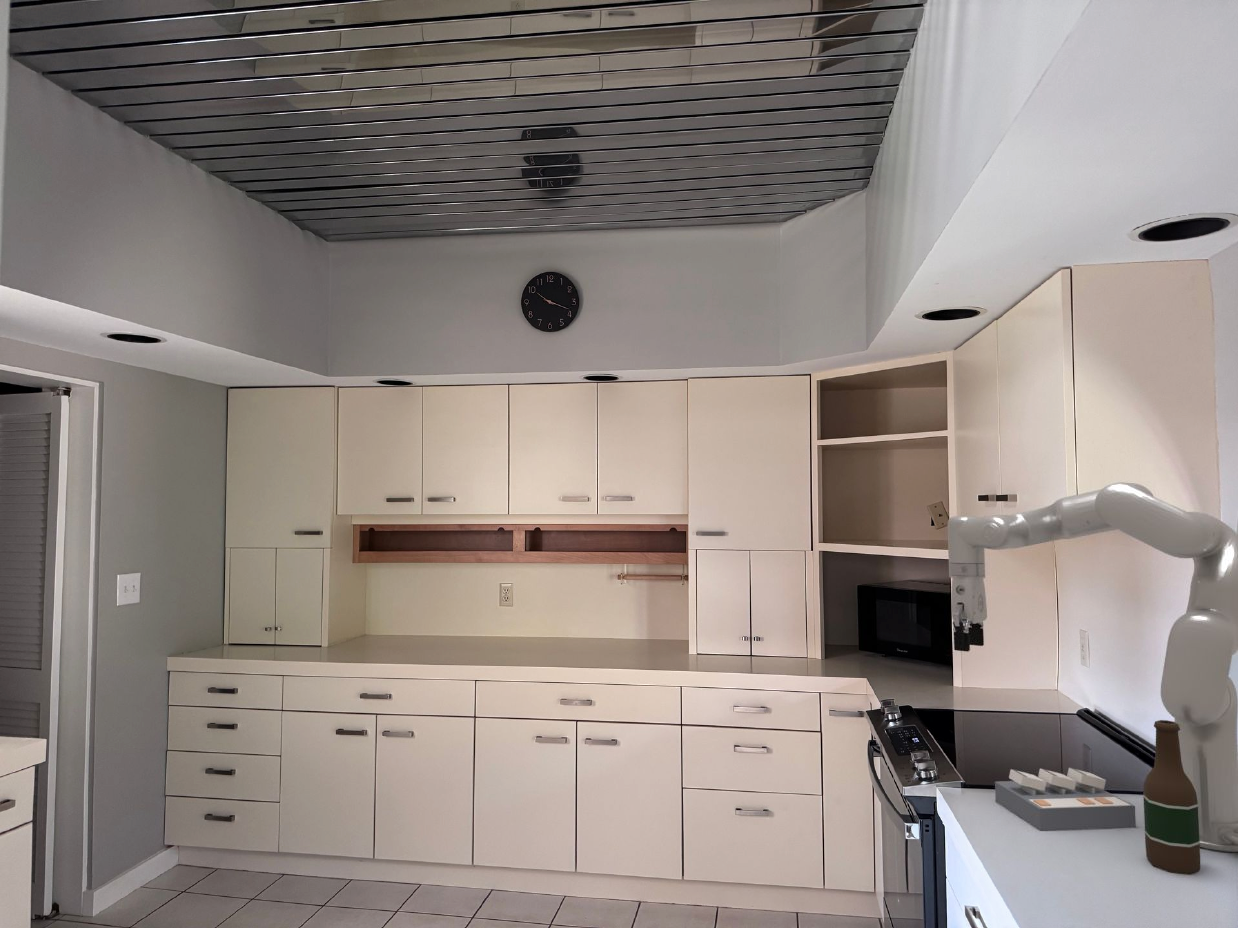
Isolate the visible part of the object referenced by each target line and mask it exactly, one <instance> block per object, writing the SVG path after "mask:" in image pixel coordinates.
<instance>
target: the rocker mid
mask: <svg viewBox="0 0 1238 928" xmlns="http://www.w3.org/2000/svg"><path fill="white" fill-rule="evenodd" d="M1037 777H1038V778H1040V779H1042V780H1044V781H1046V782H1048V783H1050V784H1052V785H1056V786H1060V787H1064V788H1068V789H1072V790H1074V789H1075V785H1076V781H1075V780H1073V779H1071V778H1069V777H1067V775H1065V774H1063V773H1060V772H1056V771H1053V770H1048V769H1045V768H1039V771H1038V775H1037Z"/></svg>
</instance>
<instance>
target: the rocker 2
mask: <svg viewBox="0 0 1238 928" xmlns="http://www.w3.org/2000/svg"><path fill="white" fill-rule="evenodd" d="M1066 776H1067V777H1069V778H1071V779H1073V780H1075V781H1077V782H1079V783H1082V784H1086V785H1089V786H1093V787H1097V788H1100V789H1102V790H1105V787H1106V779H1105V778H1102V777H1100V776H1098V775H1096V774H1093V773H1091V772H1087V771H1084V770H1080V769H1077V768H1076V769H1075V768H1074V767H1068V771H1067V774H1066Z"/></svg>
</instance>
